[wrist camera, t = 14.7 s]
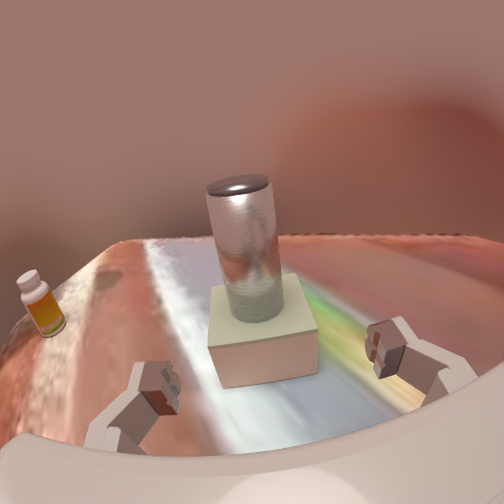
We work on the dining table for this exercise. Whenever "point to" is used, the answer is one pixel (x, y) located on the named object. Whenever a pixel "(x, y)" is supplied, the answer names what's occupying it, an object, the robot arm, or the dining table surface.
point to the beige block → (263, 340)
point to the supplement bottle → (41, 304)
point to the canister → (247, 245)
